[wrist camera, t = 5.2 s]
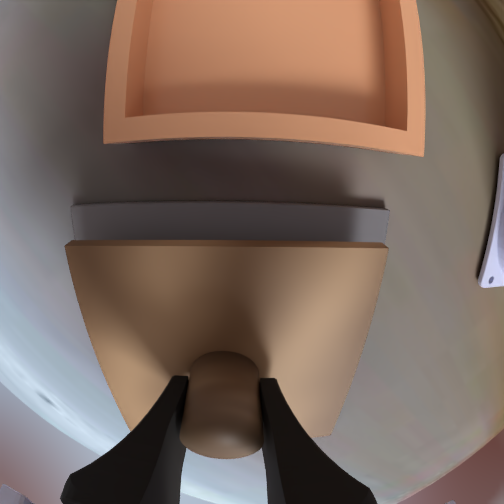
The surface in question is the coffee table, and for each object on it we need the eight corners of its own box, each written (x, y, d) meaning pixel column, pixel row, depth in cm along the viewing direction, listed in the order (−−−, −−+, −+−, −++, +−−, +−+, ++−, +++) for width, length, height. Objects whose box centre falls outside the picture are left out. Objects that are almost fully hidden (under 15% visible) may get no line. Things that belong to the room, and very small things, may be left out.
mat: (385, 208, 12) (389, 210, 12) (331, 426, 17) (332, 430, 17) (75, 204, 11) (70, 206, 11) (130, 422, 17) (129, 426, 16)
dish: (378, -41, 7) (399, -63, 5) (391, 153, 11) (423, 156, 9) (155, -55, 7) (142, -83, 4) (130, 143, 11) (103, 143, 8)
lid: (382, 242, 10) (440, 297, 7) (328, 427, 15) (341, 482, 11) (72, 240, 10) (10, 291, 6) (132, 424, 15) (118, 477, 11)
